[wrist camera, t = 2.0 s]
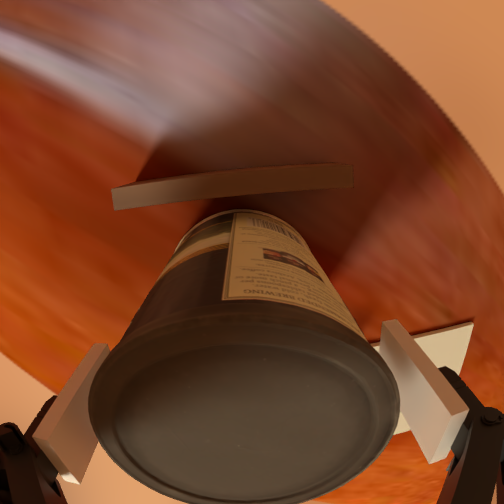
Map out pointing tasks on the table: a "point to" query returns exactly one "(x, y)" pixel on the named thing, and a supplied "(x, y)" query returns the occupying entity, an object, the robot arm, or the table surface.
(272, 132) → the table surface
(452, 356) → the mat
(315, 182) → the wooden bars
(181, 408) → the coffee can
